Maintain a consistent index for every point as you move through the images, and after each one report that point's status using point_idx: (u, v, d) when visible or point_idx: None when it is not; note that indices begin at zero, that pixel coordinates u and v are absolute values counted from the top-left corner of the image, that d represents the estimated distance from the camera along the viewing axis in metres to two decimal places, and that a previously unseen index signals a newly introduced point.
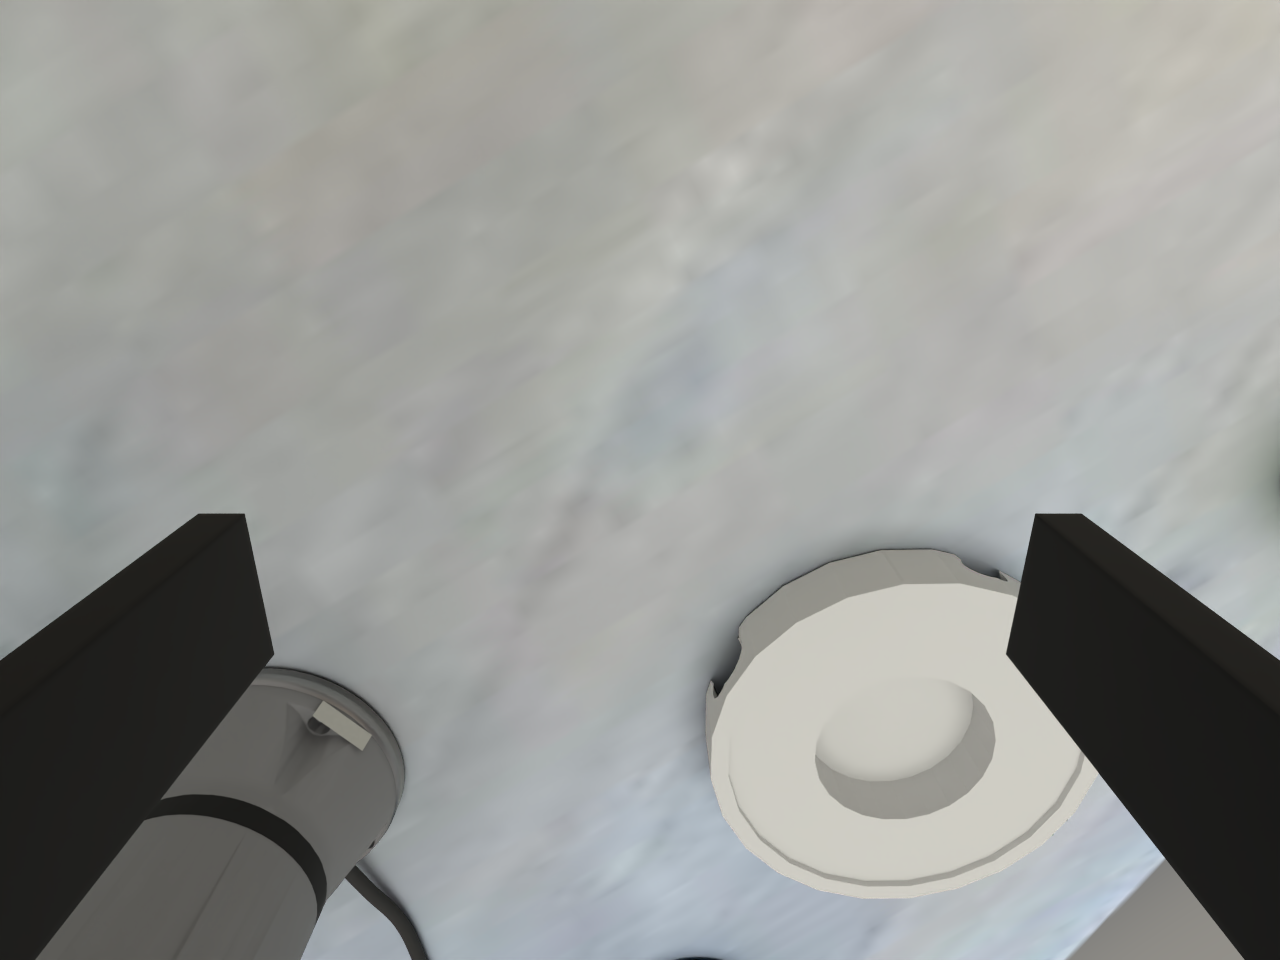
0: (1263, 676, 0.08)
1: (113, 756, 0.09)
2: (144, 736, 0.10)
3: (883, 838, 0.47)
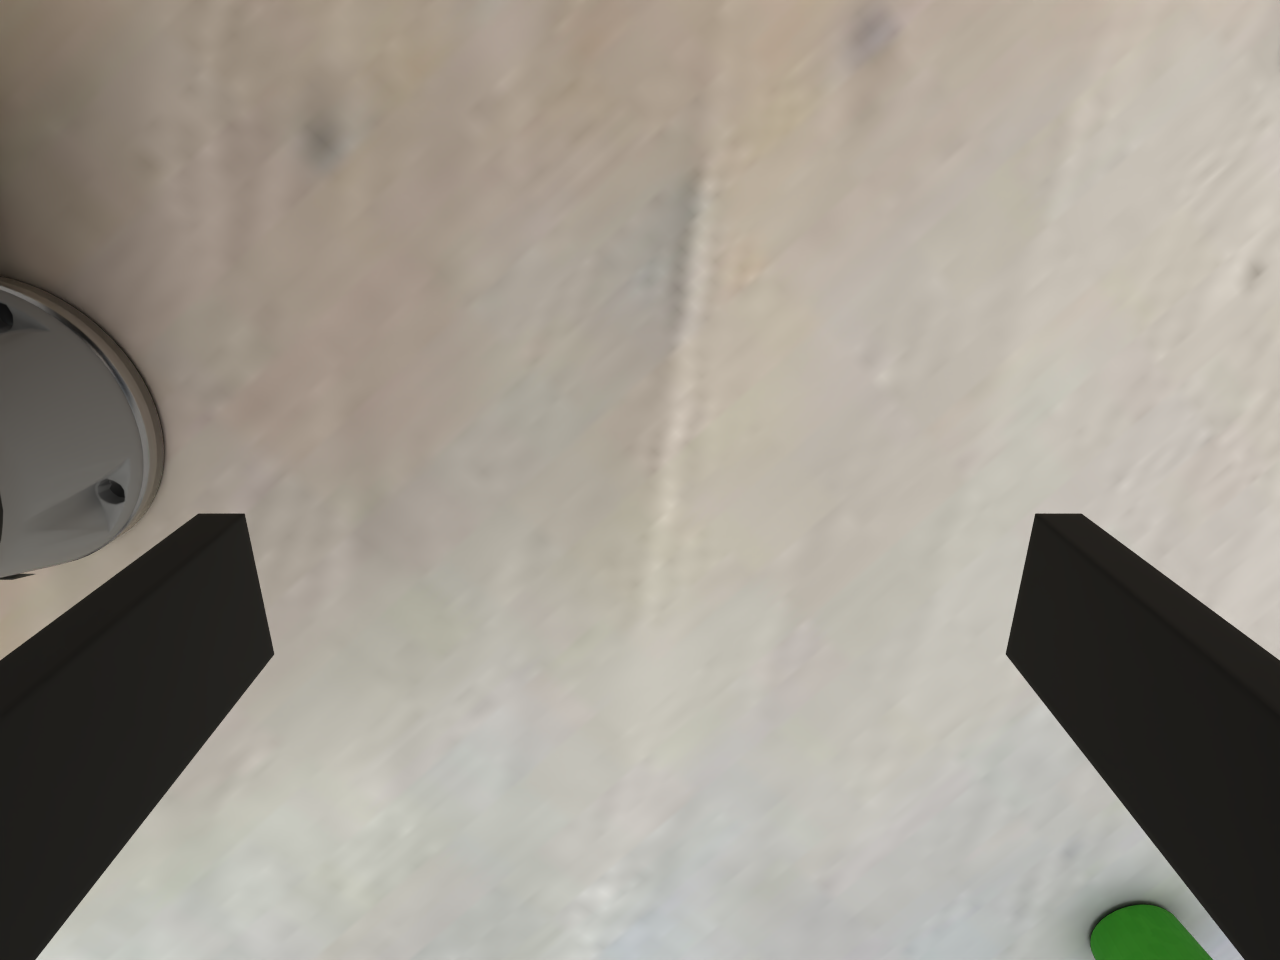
0: (1264, 676, 0.08)
1: (112, 757, 0.09)
2: (144, 736, 0.10)
3: None
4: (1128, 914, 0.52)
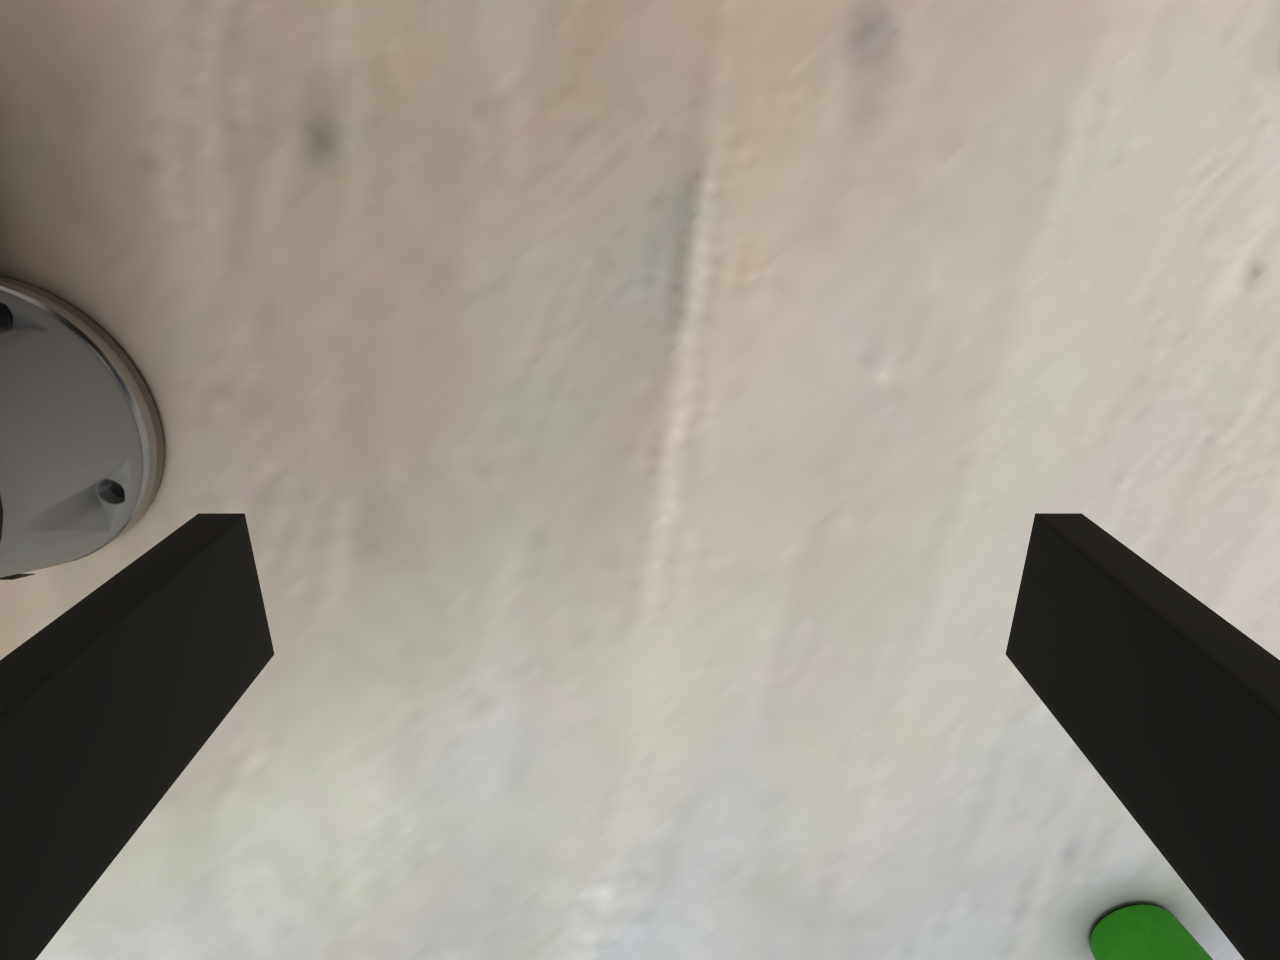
0: (1264, 676, 0.08)
1: (112, 757, 0.09)
2: (144, 736, 0.10)
3: None
4: (1128, 914, 0.52)
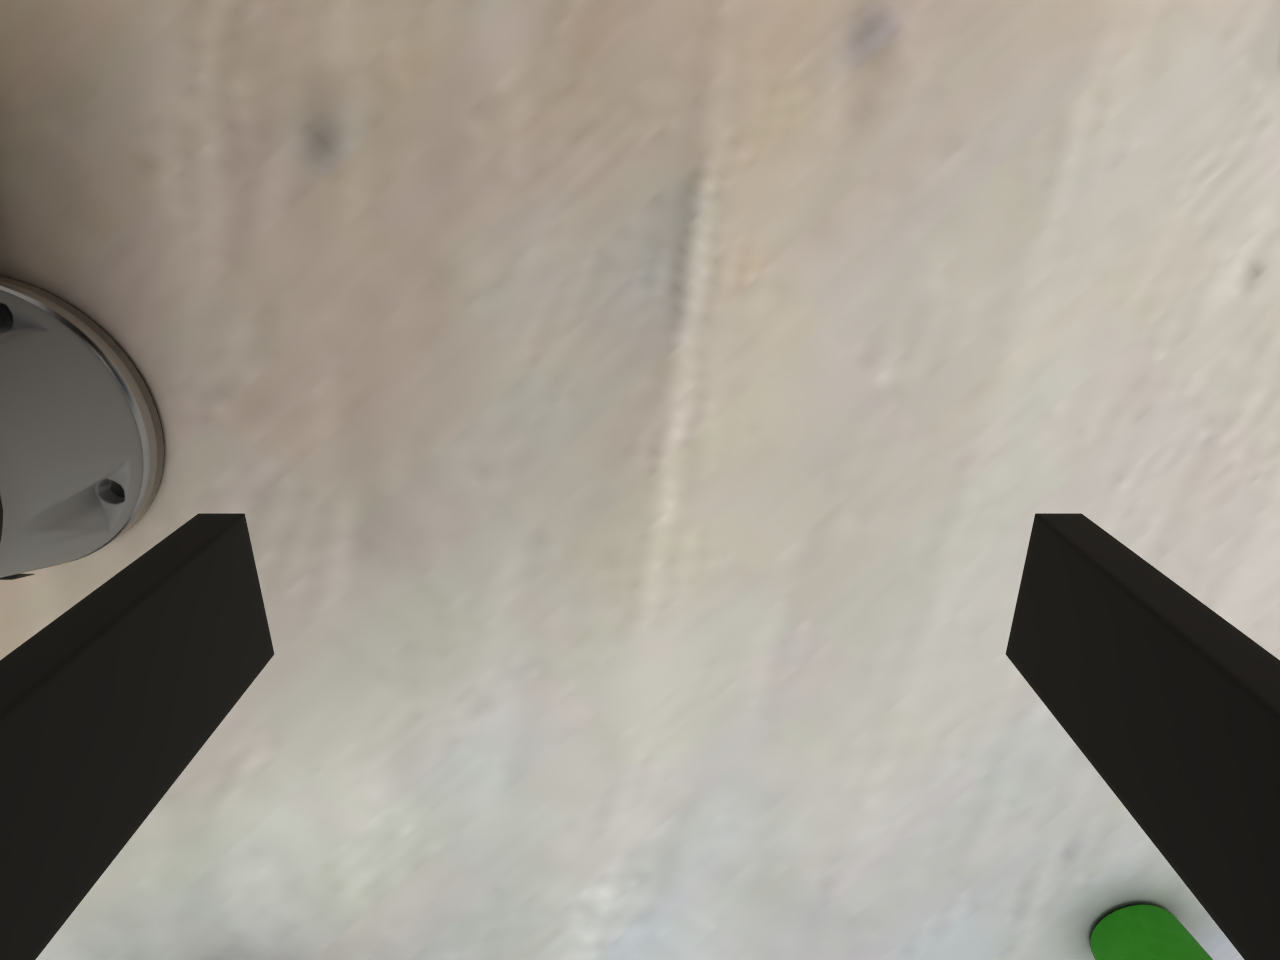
0: (1264, 676, 0.08)
1: (112, 757, 0.09)
2: (144, 736, 0.10)
3: None
4: (1128, 914, 0.52)
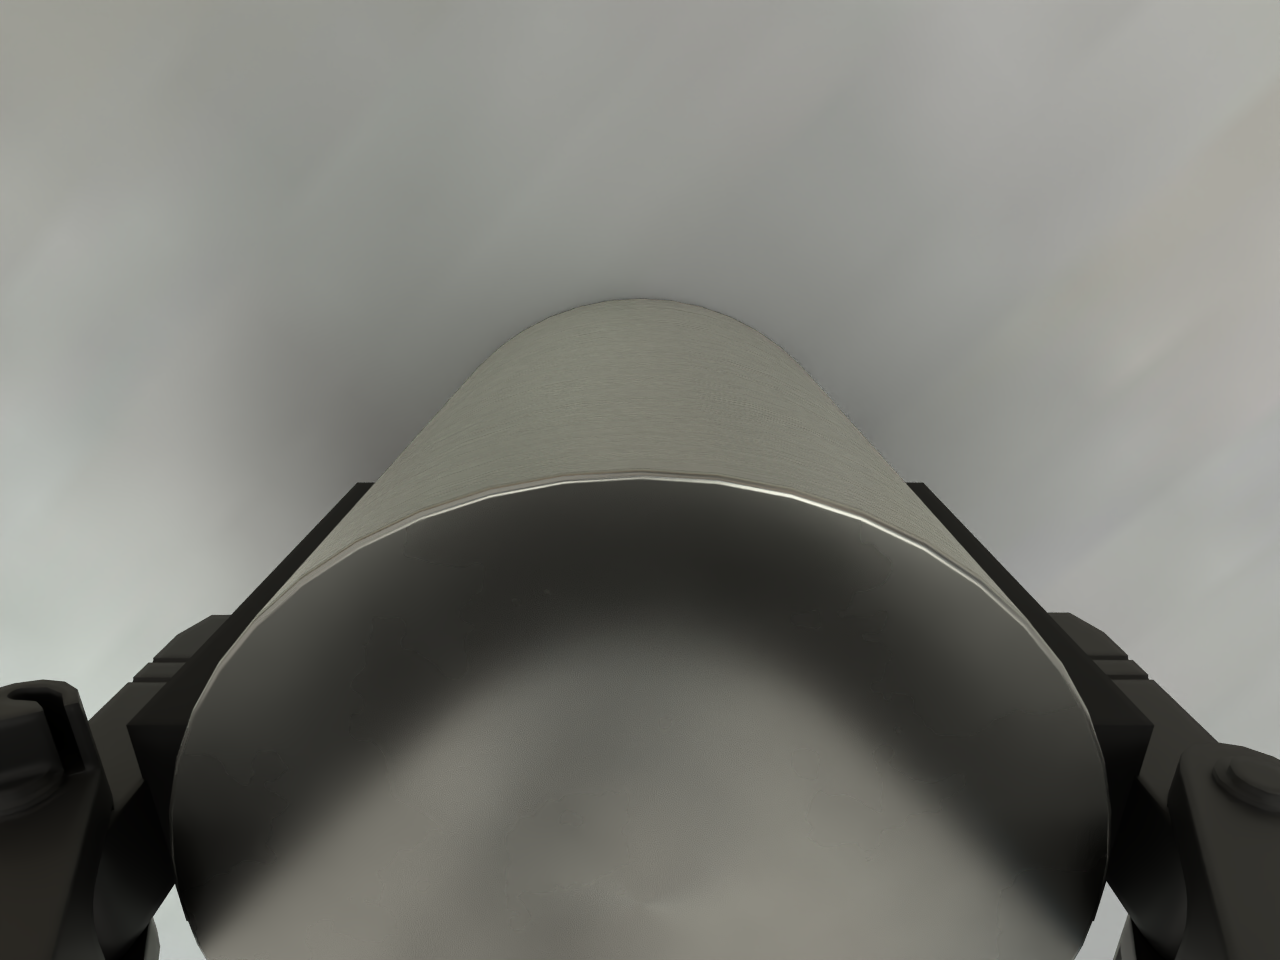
0: None
1: None
2: None
3: None
4: None
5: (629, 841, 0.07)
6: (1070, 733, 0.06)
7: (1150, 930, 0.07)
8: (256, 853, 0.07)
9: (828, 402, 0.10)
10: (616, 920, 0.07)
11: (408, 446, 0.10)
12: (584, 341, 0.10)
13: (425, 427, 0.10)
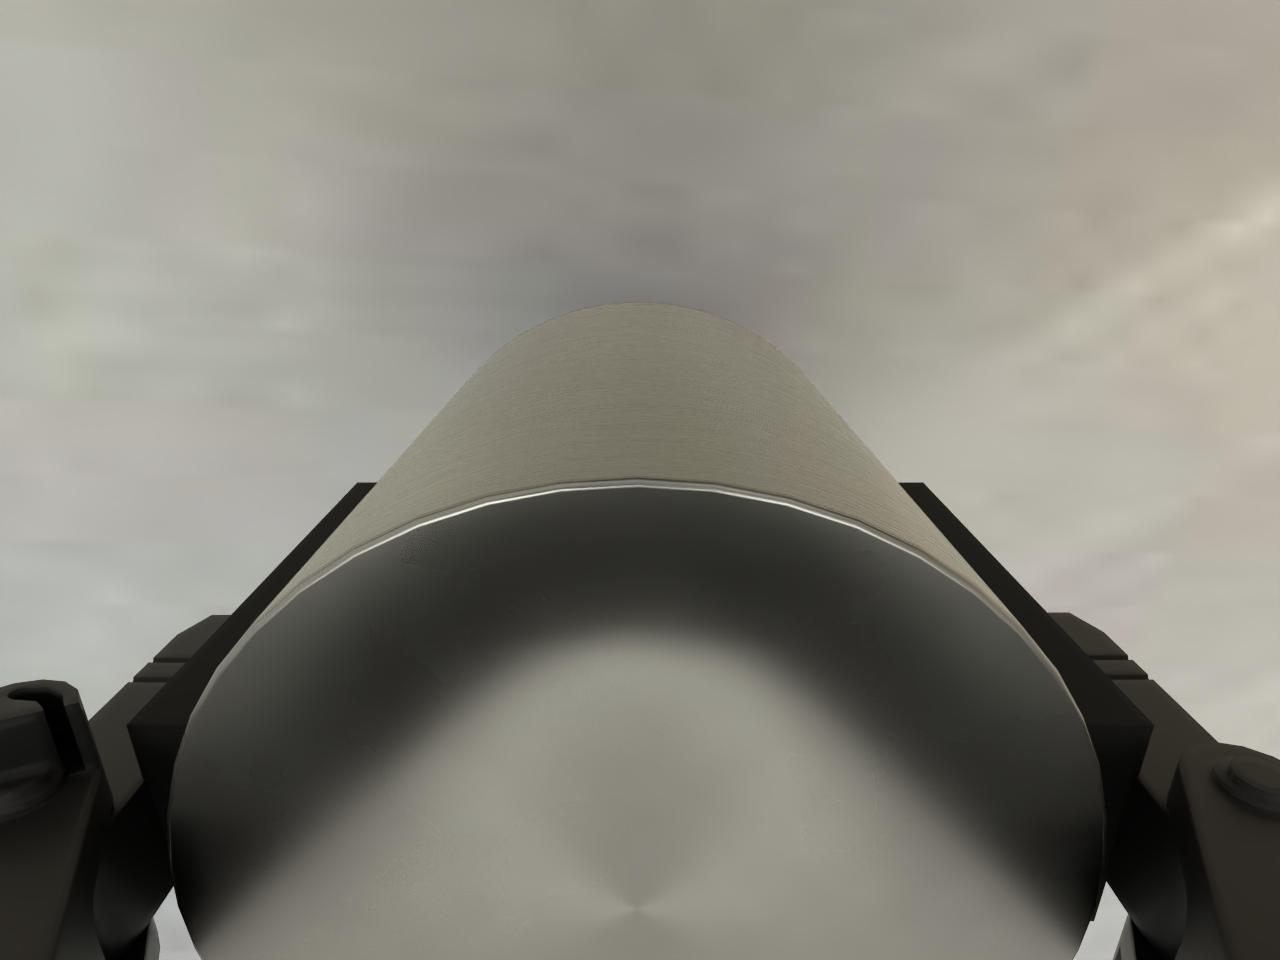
0: (1012, 610, 0.09)
1: None
2: None
3: None
4: None
5: (627, 847, 0.07)
6: (1065, 740, 0.06)
7: (1150, 930, 0.07)
8: (254, 858, 0.07)
9: (826, 406, 0.11)
10: (613, 926, 0.07)
11: (406, 450, 0.10)
12: (582, 345, 0.10)
13: (423, 431, 0.10)
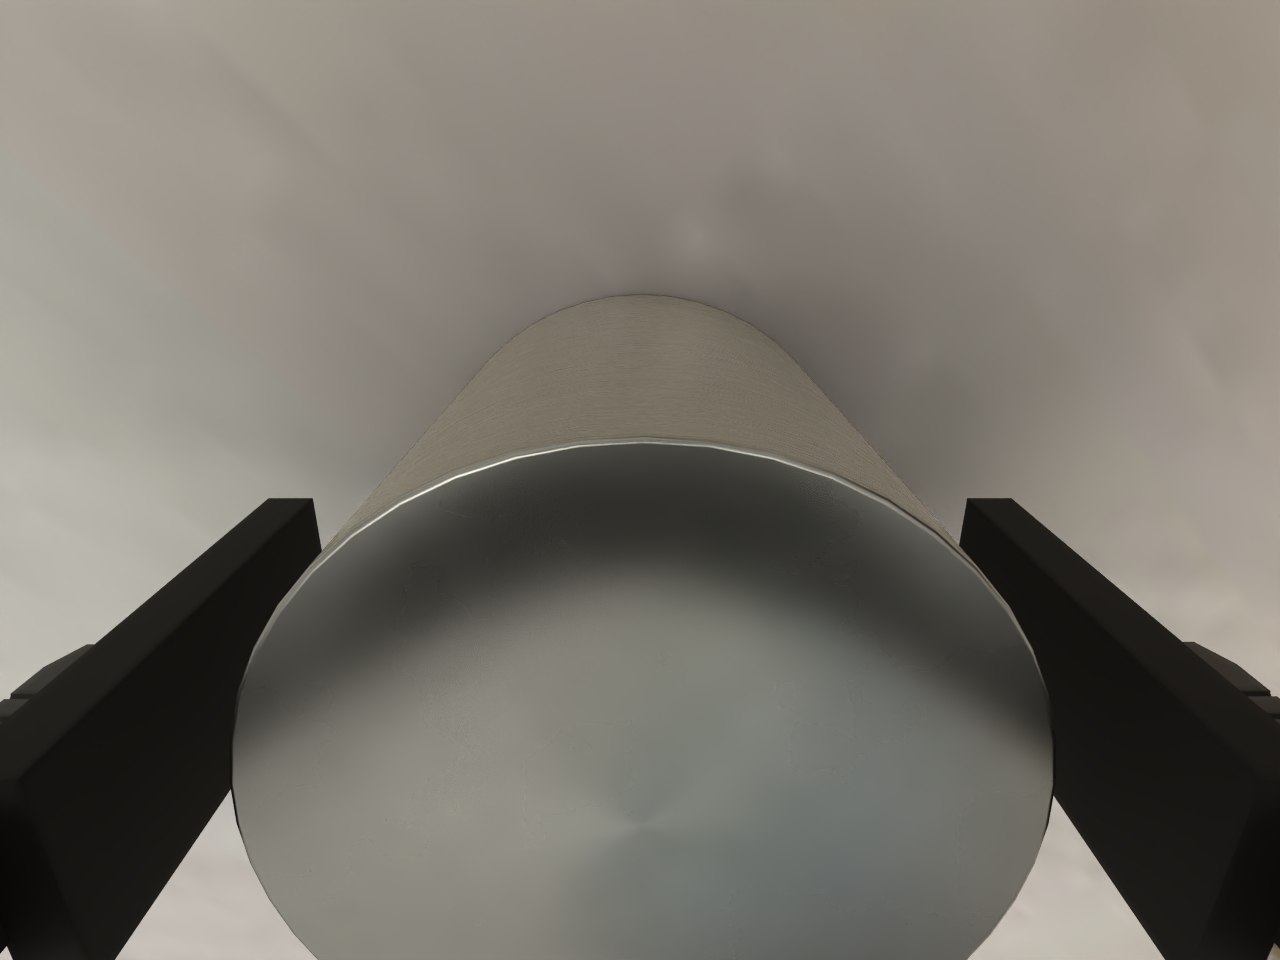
0: (1148, 642, 0.09)
1: (210, 723, 0.10)
2: (234, 704, 0.10)
3: None
4: None
5: (634, 767, 0.08)
6: (1017, 668, 0.07)
7: None
8: (305, 778, 0.08)
9: (814, 388, 0.11)
10: (622, 841, 0.08)
11: (430, 427, 0.11)
12: (590, 332, 0.11)
13: (444, 411, 0.11)
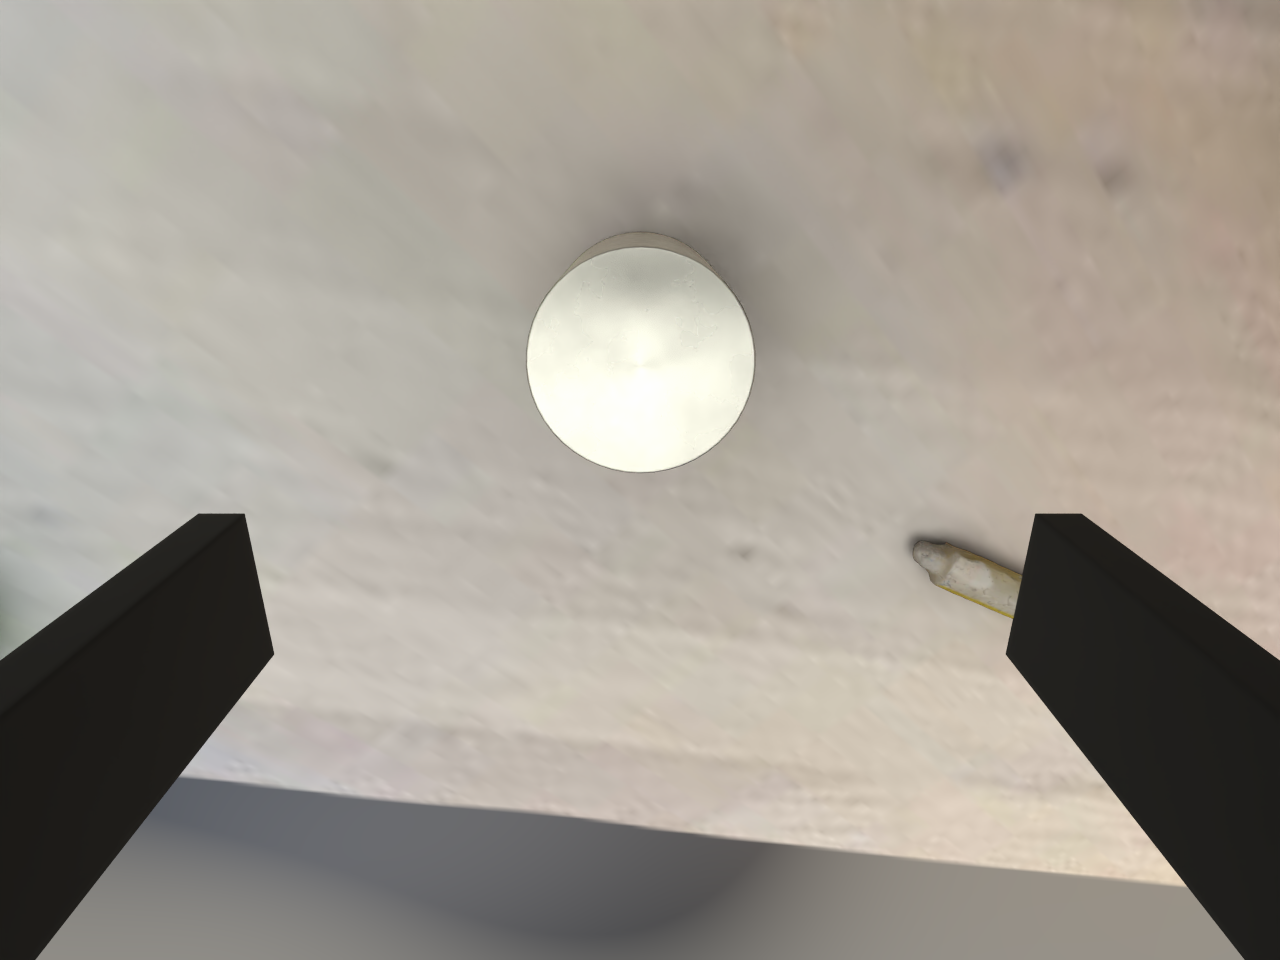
0: (1264, 676, 0.08)
1: (113, 756, 0.09)
2: (144, 736, 0.10)
3: None
4: None
5: (638, 345, 0.28)
6: (739, 313, 0.28)
7: None
8: (547, 349, 0.28)
9: None
10: (634, 372, 0.28)
11: None
12: (622, 238, 0.32)
13: None
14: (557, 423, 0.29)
